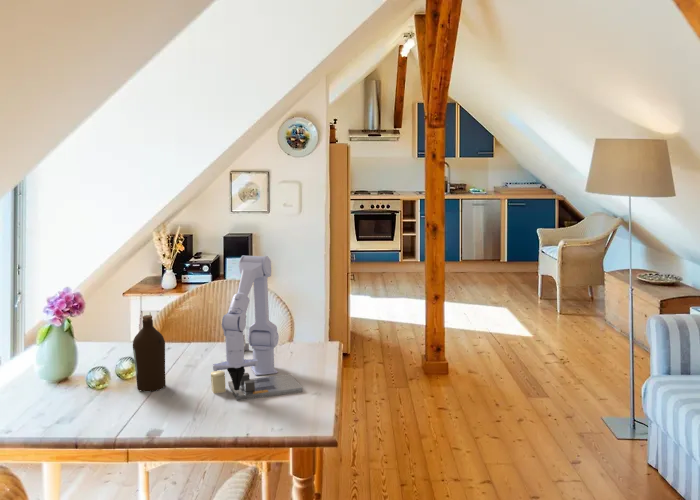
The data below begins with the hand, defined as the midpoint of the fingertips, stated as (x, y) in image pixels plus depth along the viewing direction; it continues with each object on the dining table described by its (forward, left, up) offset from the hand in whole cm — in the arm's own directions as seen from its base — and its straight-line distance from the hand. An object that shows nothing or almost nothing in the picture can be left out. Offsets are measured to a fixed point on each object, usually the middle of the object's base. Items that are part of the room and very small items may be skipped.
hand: (236, 389), depth 248 cm
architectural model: (-45, +16, -3) cm, 48 cm away
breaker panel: (-3, +10, -2) cm, 11 cm away
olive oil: (-19, -26, -3) cm, 32 cm away
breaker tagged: (0, +4, -1) cm, 4 cm away
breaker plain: (-8, +4, -1) cm, 9 cm away
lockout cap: (-7, -5, -2) cm, 9 cm away
